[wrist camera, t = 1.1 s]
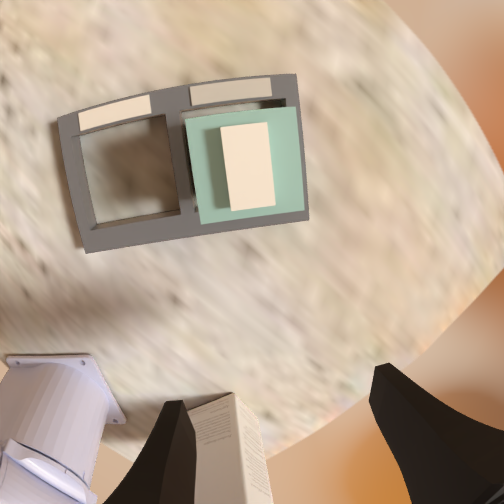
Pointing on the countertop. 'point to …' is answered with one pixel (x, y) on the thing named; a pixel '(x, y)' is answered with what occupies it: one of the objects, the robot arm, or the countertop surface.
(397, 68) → the countertop surface
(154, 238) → the dock
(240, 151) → the plug
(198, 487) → the skincare box
